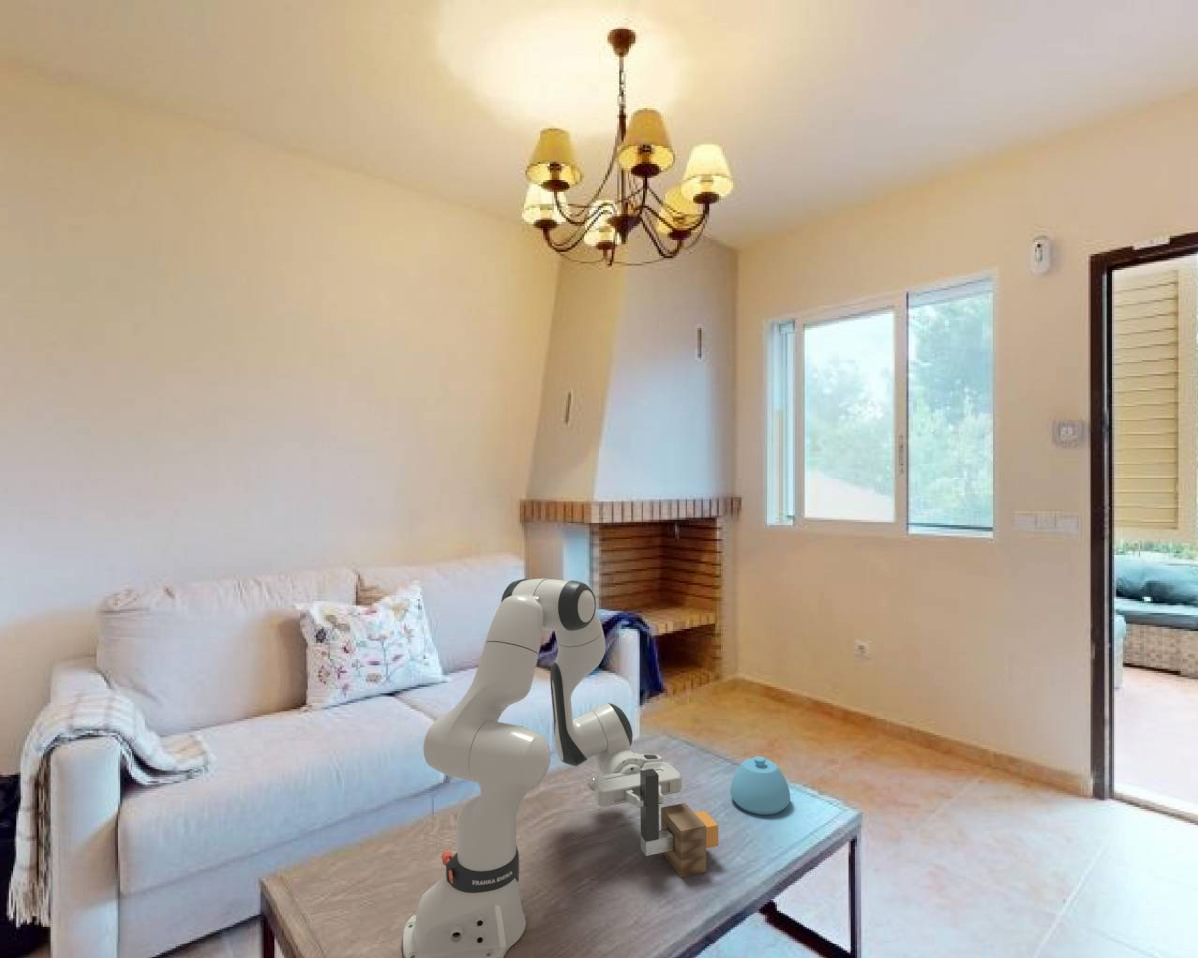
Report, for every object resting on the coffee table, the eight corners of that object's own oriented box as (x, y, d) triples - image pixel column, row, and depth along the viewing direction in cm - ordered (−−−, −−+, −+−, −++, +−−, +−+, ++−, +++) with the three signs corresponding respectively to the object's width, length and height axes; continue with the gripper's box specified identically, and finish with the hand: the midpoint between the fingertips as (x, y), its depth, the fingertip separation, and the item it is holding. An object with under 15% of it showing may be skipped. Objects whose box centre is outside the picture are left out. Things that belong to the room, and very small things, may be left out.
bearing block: (681, 877, 136) (680, 830, 135) (661, 851, 145) (661, 807, 145) (706, 871, 138) (706, 825, 137) (685, 846, 147) (685, 802, 147)
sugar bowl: (799, 800, 167) (799, 755, 167) (775, 824, 156) (774, 777, 155) (746, 782, 177) (746, 740, 177) (719, 804, 165) (719, 760, 165)
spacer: (702, 849, 139) (702, 828, 139) (689, 833, 145) (688, 813, 145) (718, 845, 141) (718, 824, 140) (704, 830, 146) (704, 810, 146)
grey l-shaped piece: (646, 855, 137) (645, 776, 136) (640, 848, 140) (640, 770, 139) (712, 841, 142) (712, 764, 142) (706, 833, 145) (705, 759, 144)
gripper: (585, 767, 147) (605, 796, 134) (666, 753, 154) (693, 779, 141) (585, 794, 147) (605, 826, 134) (666, 779, 154) (693, 808, 141)
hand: (651, 802), depth 138 cm, fingers closed on grey l-shaped piece, 3 cm apart
